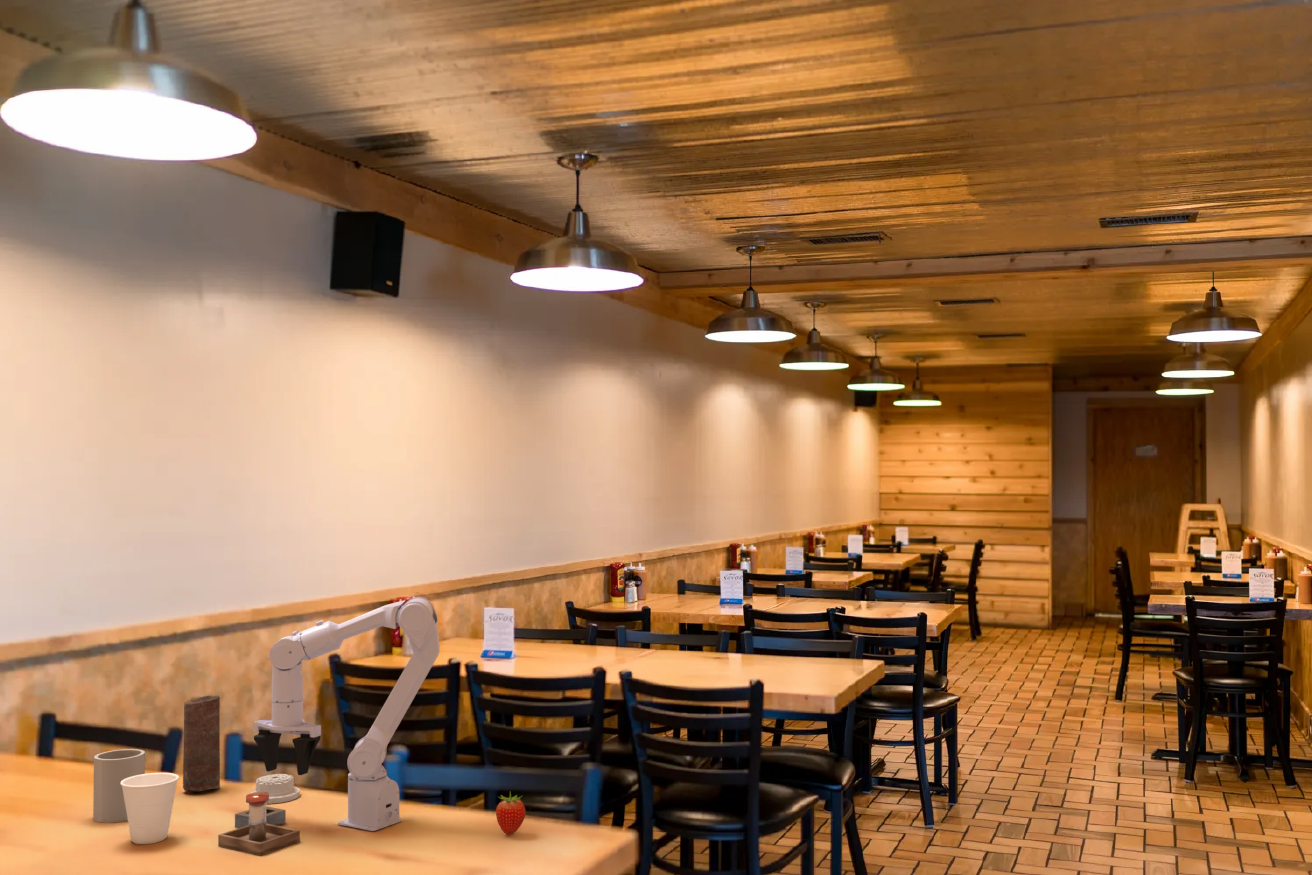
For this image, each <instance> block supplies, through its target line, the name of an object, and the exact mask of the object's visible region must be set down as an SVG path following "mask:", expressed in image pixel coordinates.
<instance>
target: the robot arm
mask: <svg viewBox="0 0 1312 875" xmlns="http://www.w3.org/2000/svg"><path fill="white" fill-rule="evenodd" d="M382 627H383V628H384V627H385V628H389V629H392V630H397V628H398V627H400V629H401V631H402V632H403V633H404V634H405V635H406V637H407V639H408V641H409V644H410V647H411V649H412V654H411V657H410V659H409V660H408V662H407V663H406V665H405V667H404V669H403V670H402V672H401V674H400V675H399V678H398V679H397V681H396V683H395V685H394V687H393V688H392V689H391V692H390V694H389V695H388V697H387V699H386V700H385V702H384V703H383V706H382V707H381V709H380V711H379V712H378V715H377V716H376V718H375V719H374V721H373V723H372V725H371V727H370V728H369V729H368V732H367V734H366V735H365V736H363V737H362V738H360V739H359V740H357V742H356V743H355V745H354V748H353V750H351V752H349V755H348V757H347V769H348V771H349V773H348V774H347V818H345V819H342V820H340V821H338V822H337V824H338V825H340V826H343V827H344V826H345V827H349V828H356V829H360V830H365V831H371V832H375V831H379V830H381V829H384V828H386V827H389V826H391V825H394V824H397V823H400V822H402V821H403V817H400V787H399V784H398V782H396V780H393V779H391V778H389V777H388V775H387V774H388V773H387V772H388V771H387V770H386V769H385V767H384V766H383V764H382V763H384V761H385V759H386V756H387V747H388V744H389V743H390V742H391V740H392V738H393V736H394V734H395V732H396V730H397V729H398V727H399V725H400V724H401V722H402V720H403V718H404V716H405V714H406V713H407V711H408V709H409V708H410V706H411V704H412V702H413V701H414V699H415V697H416V695H417V693H418V691H419V690H420V688H421V686H422V684H423V683H424V681H425V680H426V677H427V676H428V674H429V672H430V670H431V669H432V667H433V665H434V663H435V662H436V660H437V658H438V656H439V655H440V651H441V649H440V648H441V646H440V634H439V617H438V614H437V612H436V609H435V607H434V605H433V603H432V602H431V601H430V600H428V598H426V597H423V596H415V597H412V598H410V599H409V600H407V601H406V600H401V601H396V602H393V603H389V604H385V605H383V606H380V607H378V608H376V609H372V610H370V611H368V612H366V613H363V614H360V615H359V616H356V617H353V618H351V619H349V620H346V621H343V622H342V623H336V622H334V621H332V620H327V621H324V620H323V619H322V620H319V621H317V622H315V625H314V626H312V627H309V628H306V629H304V630H301V631H298V630H295V631H293V632H291V635H288V636H287V635H286V636H284V637H282V638H280V639H279V640H277V641H275V643H273V644H272V646H271V648H270V649H269V654H268V658H269V661H270V663H271V664H272V669H271V670H272V672H271V673H272V676H271V719H269V720H268V719H260V720H255V721H254V722H253V723H254V724H253V732H254V733H257V734H256V735H255V734H254V736H253V740H254V742H255V743H256V745H257V747H258V749H259V751H260V753H261V757H262V759H263V762H264V766H265V770H266V772H268V773H269V772H272V771H275V770H277V769H278V767H277V766H278V756H279V745H280V740H281V737H282V735H283V734H286V735H292V736H293V735H296V736H297V737H296V738H295V737H294V738H292V744H293V746H294V750H295V755H296V771H297V775H298V776H303V775H306V774H308V772H309V769H310V765H311V761H312V758H313V755H314V752H315V750H316V748H317V746H318V744H319V742H320V741H321V735H322V725H321V724H314V723H312V722H306V721H305V719H304V675H303V661H311V660H314V659H315V658H318V657H321V656H324V655H326V654H328V653H332V652H334V651H336V650H339V649H341V646H342V644H343V643H344V640H346V639H347V640H348V639H349V638H352V637H356V636H358V635H361V634H363V633H366V632H369V631H372V630H375V629H379V628H382ZM298 736H299V737H298Z"/></svg>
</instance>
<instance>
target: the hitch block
mask: <svg viewBox="0 0 1312 875" xmlns="http://www.w3.org/2000/svg"><path fill="white" fill-rule="evenodd" d="M286 812H287V811H286V809H281V808H277V807H271V806H267V805H266V824H271V825H276V826H281V825H284V824H286V823H287V822H286V817H287V816H286ZM247 825H249V809H247V810H243V811H240V812H236V813H234V828H235V829H238V828H241V827H244V826H247Z"/></svg>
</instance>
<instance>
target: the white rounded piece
mask: <svg viewBox="0 0 1312 875" xmlns="http://www.w3.org/2000/svg"><path fill="white" fill-rule="evenodd" d="M256 792H267V793H269V801H267V802H266V805H268V804H269V805H271V804H280V803H287V802H290V801H294V800H296V799H298V798H299V797H300V796H301V790H300V788H299V787H297V786H295V777H294V776H293V775H292V774H286V773H275V774H267V775H264V776H259V777H257V779H255V790H253V791H251V792H249V794H251V793H256Z"/></svg>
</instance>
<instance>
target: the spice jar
mask: <svg viewBox="0 0 1312 875" xmlns="http://www.w3.org/2000/svg"><path fill="white" fill-rule="evenodd" d="M250 793H251V792H250ZM250 793H248V794H246V796H245V802H246V803H247V804H248V810H249V840H251V841H256V842H260V841H264V840H266V806H267V804H266V802H267V801H269V793H267V792H256V793H251V794H250Z"/></svg>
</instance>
